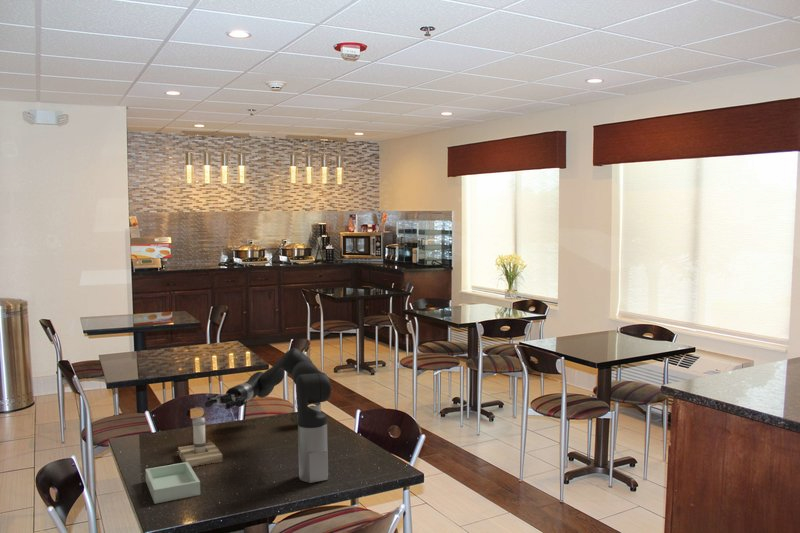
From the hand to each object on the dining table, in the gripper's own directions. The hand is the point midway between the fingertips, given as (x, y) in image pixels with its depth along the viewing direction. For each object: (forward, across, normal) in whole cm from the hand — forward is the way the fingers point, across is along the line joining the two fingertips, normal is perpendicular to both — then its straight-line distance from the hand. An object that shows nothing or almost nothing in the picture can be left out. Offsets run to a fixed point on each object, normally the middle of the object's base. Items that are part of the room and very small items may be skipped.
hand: (216, 405), depth 238 cm
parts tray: (+38, +8, +15) cm, 41 cm away
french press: (-36, +20, +16) cm, 45 cm away
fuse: (+12, 0, +16) cm, 19 cm away
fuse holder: (+12, 0, +16) cm, 19 cm away
